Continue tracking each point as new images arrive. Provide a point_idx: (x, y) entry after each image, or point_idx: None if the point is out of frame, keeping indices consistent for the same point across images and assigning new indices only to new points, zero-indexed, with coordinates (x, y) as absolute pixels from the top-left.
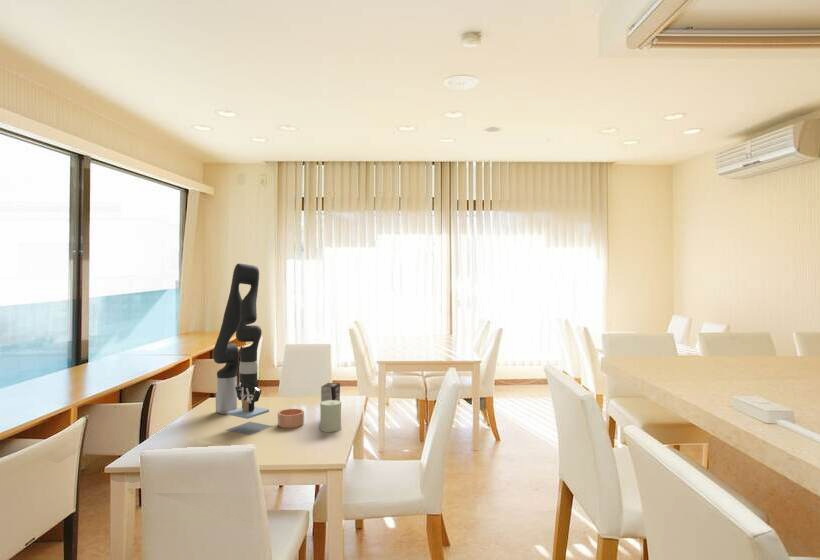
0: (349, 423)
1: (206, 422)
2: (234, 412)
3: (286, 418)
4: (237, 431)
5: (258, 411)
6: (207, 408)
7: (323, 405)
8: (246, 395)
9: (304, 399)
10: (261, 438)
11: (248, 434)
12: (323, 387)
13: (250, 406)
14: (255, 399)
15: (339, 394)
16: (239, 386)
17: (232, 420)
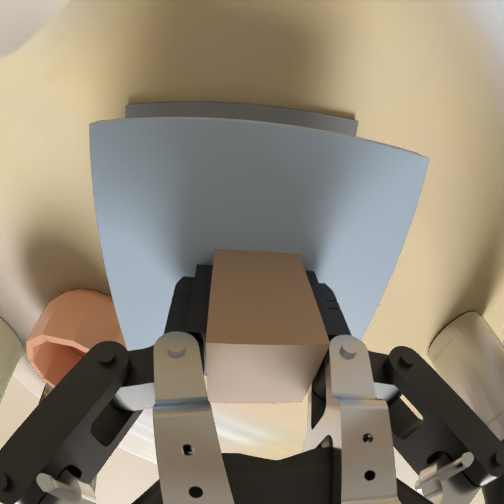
0: (18, 375)
1: (488, 216)
2: (350, 174)
3: (44, 324)
4: (257, 120)
5: (148, 306)
6: (500, 322)
7: None
8: (314, 438)
9: (284, 455)
10: (43, 117)
11: (136, 106)
12: None
13: (190, 307)
14: (70, 382)
15: None
16: (462, 501)
17: (410, 283)
